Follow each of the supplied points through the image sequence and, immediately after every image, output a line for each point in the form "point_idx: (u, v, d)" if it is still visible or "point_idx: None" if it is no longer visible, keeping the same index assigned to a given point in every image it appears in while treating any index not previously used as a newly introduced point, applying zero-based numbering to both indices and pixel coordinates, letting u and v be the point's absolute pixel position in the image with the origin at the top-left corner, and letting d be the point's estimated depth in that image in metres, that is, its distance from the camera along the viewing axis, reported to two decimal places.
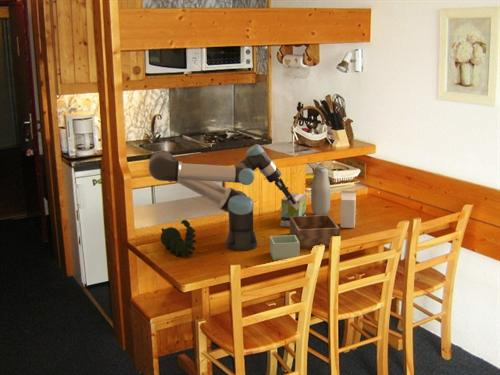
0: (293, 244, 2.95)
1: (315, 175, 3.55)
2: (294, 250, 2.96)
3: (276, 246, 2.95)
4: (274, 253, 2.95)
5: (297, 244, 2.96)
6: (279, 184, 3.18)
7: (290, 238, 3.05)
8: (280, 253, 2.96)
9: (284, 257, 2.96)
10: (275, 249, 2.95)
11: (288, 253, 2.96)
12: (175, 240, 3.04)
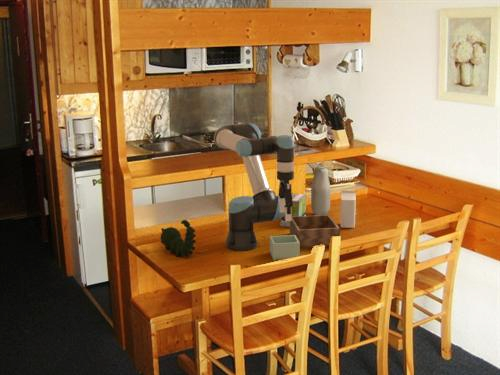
0: (293, 244, 2.95)
1: (315, 175, 3.55)
2: (294, 250, 2.96)
3: (276, 246, 2.95)
4: (274, 253, 2.95)
5: (297, 244, 2.96)
6: (287, 186, 2.88)
7: (290, 238, 3.05)
8: (280, 253, 2.96)
9: (284, 257, 2.96)
10: (275, 249, 2.95)
11: (288, 253, 2.96)
12: (175, 240, 3.04)
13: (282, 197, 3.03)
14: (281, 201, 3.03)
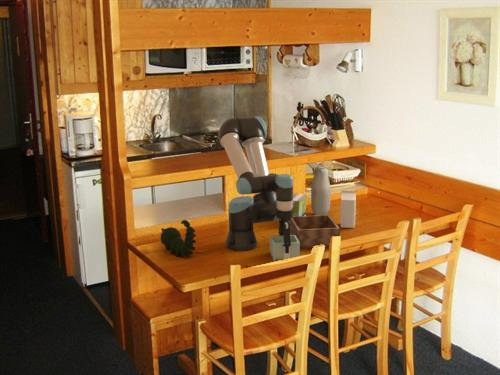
0: (293, 244, 2.95)
1: (315, 175, 3.55)
2: (294, 250, 2.96)
3: (276, 246, 2.95)
4: (274, 253, 2.95)
5: (297, 244, 2.96)
6: (286, 226, 2.91)
7: (290, 238, 3.05)
8: (280, 253, 2.96)
9: None
10: (275, 249, 2.95)
11: None
12: (175, 240, 3.04)
13: None
14: None
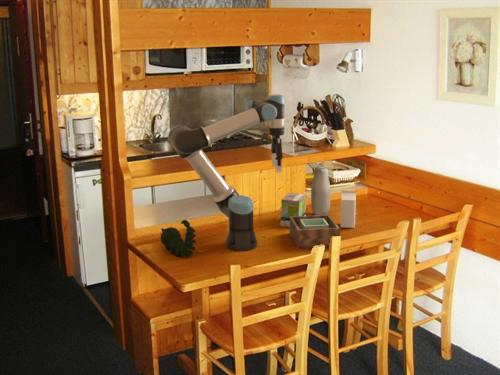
0: (323, 226, 3.16)
1: (315, 175, 3.55)
2: None
3: (307, 228, 3.16)
4: None
5: (326, 226, 3.17)
6: (278, 140, 3.17)
7: (319, 222, 3.26)
8: None
9: None
10: None
11: None
12: (175, 240, 3.04)
13: (274, 152, 3.33)
14: (273, 155, 3.33)
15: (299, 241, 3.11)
